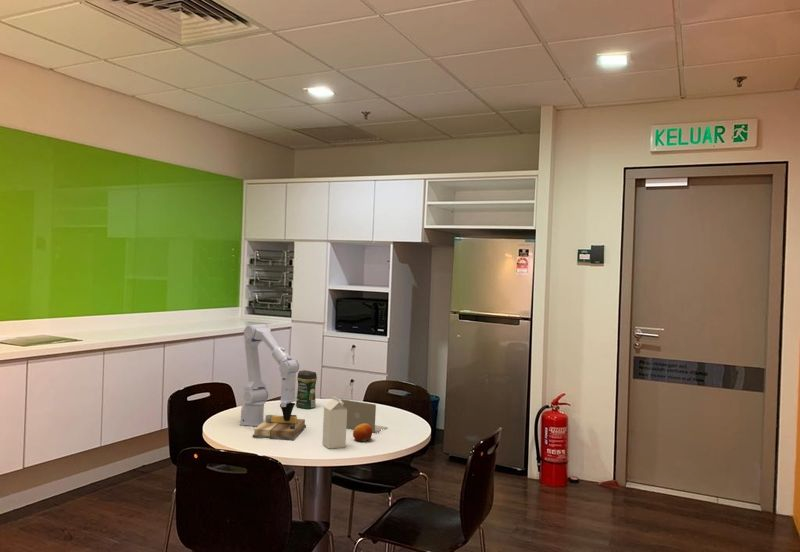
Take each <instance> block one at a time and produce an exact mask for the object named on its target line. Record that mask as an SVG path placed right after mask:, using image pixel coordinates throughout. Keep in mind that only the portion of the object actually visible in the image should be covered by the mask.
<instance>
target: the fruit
mask: <svg viewBox="0 0 800 552" xmlns="http://www.w3.org/2000/svg"><path fill="white" fill-rule="evenodd" d="M372 436H373V434H372V427H371V426H370V425H369V424H366V423H364V424H360V425H358V426H356V427H355V429H354V430H352V437H353V438H354V440H356V441H357V442H365V443H366V441H367V440H370V441H371V440H372Z"/></svg>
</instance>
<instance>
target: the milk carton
mask: <svg viewBox="0 0 800 552" xmlns="http://www.w3.org/2000/svg"><path fill="white" fill-rule="evenodd" d="M343 404H344V403H343V402H342V401H341V399H339V398H337V397H336V396H334V395H332V399H331V400H329V401H328V402H327V403H326V404H325V405H324V406H323V423H322V424H323V425H322V442H321V443H322V445H323V446H324V447H325V448H327V449H329V450H330V449H338V448H339V449H340V448H346V443H347V442H346V441H347V429H346V425H347V409H346V408H345V407H344V406H343Z"/></svg>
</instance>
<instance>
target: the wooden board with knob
mask: <svg viewBox="0 0 800 552" xmlns="http://www.w3.org/2000/svg"><path fill="white" fill-rule="evenodd" d="M291 416H295V417H298V416H297V415H296V414H291ZM263 421H264V422H263V423H261V424H260V425H259V426H255V428H254V432H253V433H254V434H252V437H254V438H253V439H262V438H270V439H269V440H278V439H279V441H280V440H281V441H282V440H283V441H295V440H296V439H297V438H298V437H299V435H300V434H302V432H303V431H304V430H305V429H306V428H307V424H306V419H304V418H303V419H301V418H297V422H296V424H294V423H276V422H266V419H265V420H263Z"/></svg>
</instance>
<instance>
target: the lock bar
mask: <svg viewBox="0 0 800 552" xmlns="http://www.w3.org/2000/svg"><path fill="white" fill-rule="evenodd" d="M297 419H298V416H296V417H295V416H291V417H290V420H289V421H284V418H283V415H274V414H267V415H265V420H266V422H276V423H294V424H296V422H297Z"/></svg>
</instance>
